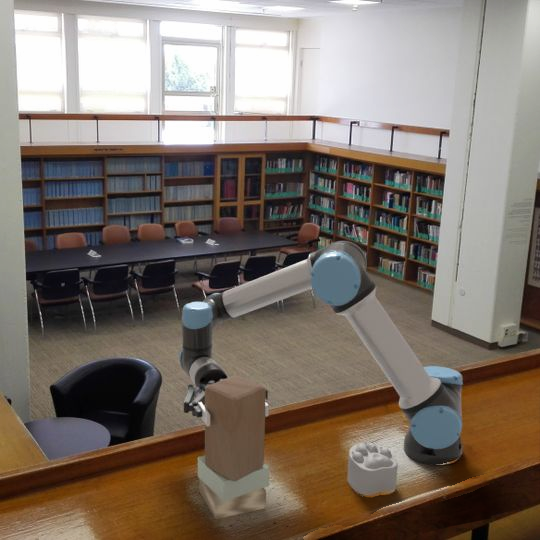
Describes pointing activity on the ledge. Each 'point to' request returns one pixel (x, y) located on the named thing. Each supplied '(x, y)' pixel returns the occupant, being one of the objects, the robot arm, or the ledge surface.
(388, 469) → the lumpy-topped squat cylinder
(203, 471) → the tower top
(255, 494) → the tower bottom
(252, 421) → the block
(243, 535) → the ledge surface
